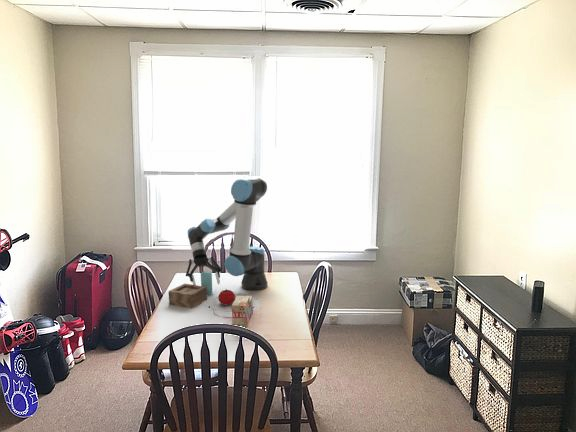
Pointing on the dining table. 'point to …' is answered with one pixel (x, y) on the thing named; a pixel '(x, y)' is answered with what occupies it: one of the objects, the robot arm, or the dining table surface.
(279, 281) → the dining table surface
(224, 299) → the tomato
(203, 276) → the teal round block
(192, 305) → the wooden box
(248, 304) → the printed cardboard box
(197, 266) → the robot arm
